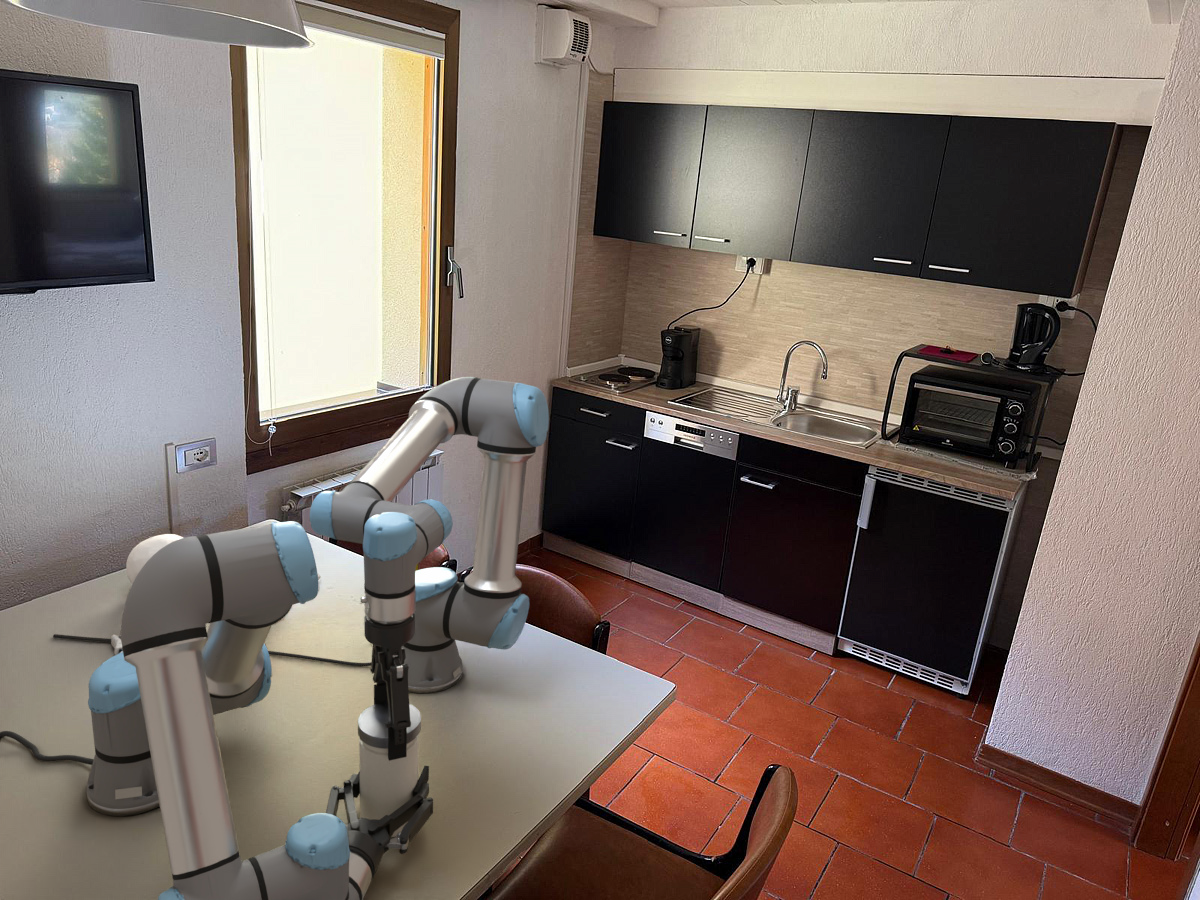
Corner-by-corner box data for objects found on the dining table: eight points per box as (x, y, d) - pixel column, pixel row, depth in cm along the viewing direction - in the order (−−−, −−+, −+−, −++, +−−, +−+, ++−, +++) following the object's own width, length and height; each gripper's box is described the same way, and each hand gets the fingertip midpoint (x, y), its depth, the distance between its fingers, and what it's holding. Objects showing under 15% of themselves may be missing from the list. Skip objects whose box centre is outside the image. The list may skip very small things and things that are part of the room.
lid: (432, 733, 136) (432, 723, 135) (376, 756, 130) (376, 746, 129) (402, 703, 143) (402, 693, 142) (347, 724, 137) (346, 714, 136)
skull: (191, 620, 195) (189, 556, 191) (114, 601, 201) (110, 538, 197) (232, 597, 208) (230, 537, 203) (157, 580, 213) (154, 520, 209)
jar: (377, 846, 135) (377, 753, 130) (349, 813, 141) (348, 724, 136) (427, 821, 141) (429, 731, 136) (399, 791, 147) (400, 704, 142)
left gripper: (274, 880, 124) (334, 779, 145) (422, 901, 123) (461, 795, 144) (272, 838, 122) (334, 741, 143) (423, 858, 120) (462, 758, 142)
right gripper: (351, 584, 138) (353, 702, 145) (380, 654, 119) (380, 787, 126) (397, 578, 141) (397, 694, 148) (433, 645, 122) (431, 775, 129)
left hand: (397, 768), depth 144 cm, fingers closed on jar, 9 cm apart
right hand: (389, 737), depth 137 cm, fingers closed on lid, 10 cm apart
